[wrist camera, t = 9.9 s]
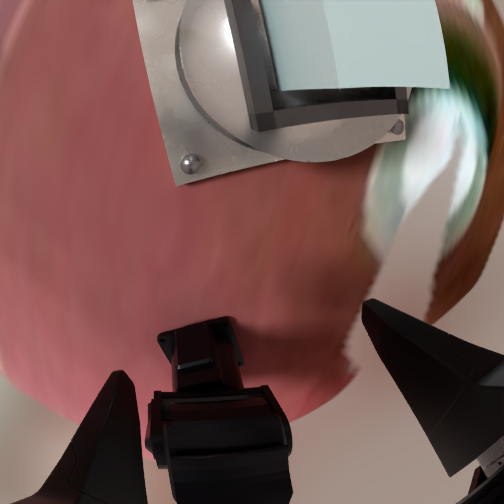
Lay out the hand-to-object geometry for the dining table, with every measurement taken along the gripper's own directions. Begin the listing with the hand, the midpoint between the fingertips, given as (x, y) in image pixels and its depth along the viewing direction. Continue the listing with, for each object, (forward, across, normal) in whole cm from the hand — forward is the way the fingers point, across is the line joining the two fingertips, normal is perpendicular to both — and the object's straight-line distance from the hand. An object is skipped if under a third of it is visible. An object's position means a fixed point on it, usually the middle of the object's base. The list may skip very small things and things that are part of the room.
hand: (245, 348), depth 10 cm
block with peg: (+7, -7, -11) cm, 15 cm away
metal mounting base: (+12, -7, -10) cm, 17 cm away
